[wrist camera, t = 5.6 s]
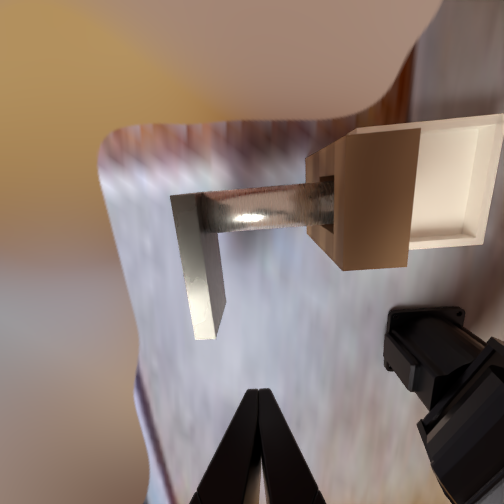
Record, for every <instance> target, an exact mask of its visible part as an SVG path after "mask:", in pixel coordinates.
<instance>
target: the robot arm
mask: <svg viewBox="0 0 504 504" xmlns="http://www.w3.org/2000/svg"><path fill="white" fill-rule="evenodd" d="M457 312H458V313H457ZM395 315H396V317H394V316H395ZM393 317H394V318H393ZM464 317H465V311H464V310H463V309H461V308H460V307H443V308H425V309H407V310H393V311H391V312H390V313H389V314H388V322H387V332H386V334H385V340H384V352H383V356H384V367H385V368H386V369H387V371H394V372H395V373H396V374H397V376H398V377H399V379H400V380H401V381H402V383H403V384H404V385H405V387H406V388H407V389H408V390H409V391H410V392H415V393H416V394H417V396H418V397H419V398H420V400H421V401H422V402H423V404H424V405H425V406H426V408H427V409H428V410H429V413H428V414H427V415H426V416H425V418H424V419H421V420H420V421H419V422H418V423H417V427H418V430H419V433H420V435H421V438H422V441H423V443H424V446H425V449H426V451H427V454H428V457H429V459H430V462H431V467H432V470H433V472H434V474H435V475H436V478H437V480H438V482H439V484H440V486H441V488H442V490H443V492H444V494H445V495H446V497H447V498H448V499H449V500H450V502H451V503H452V504H504V341H501V340H499V339H497V338H494V337H491V338H490V339H489V340H488V341H487V343H486V342H484V341H483V340H482V339H480V338H479V337H477V336H476V335H474V334H473V333H472V332H470V331H469V330H467V329H466V328H464V327H463V323H464ZM261 458H262V469H263V478H264V486H265V495H266V503H267V504H326V502H325V500H324V498H323V496H322V494H321V492H320V491H319V490H318V486H317V484H316V482H315V480H314V478H313V476H312V473H311V471H310V469H309V467H308V465H307V463H306V461H305V459H304V457H303V455H302V453H301V451H300V449H299V447H298V445H297V443H296V441H295V439H294V436H293V434H292V432H291V430H290V428H289V426H288V424H287V422H286V420H285V418H284V416H283V414H282V412H281V410H280V408H279V406H278V404H277V402H276V399H275V397H274V395H273V393H272V391H271V390H270V389H269V388H263V389H259V390H258V389H248V390H247V391H246V393H245V395H244V397H243V399H242V401H241V403H240V405H239V407H238V409H237V411H236V412H235V414H234V416H233V418H232V420H231V422H230V424H229V426H228V428H227V430H226V432H225V434H224V436H223V438H222V440H221V442H220V444H219V446H218V448H217V450H216V452H215V454H214V456H213V458H212V460H211V462H210V464H209V466H208V468H207V470H206V472H205V474H204V476H203V478H202V480H201V482H200V484H199V486H198V488H197V492H195V493H194V495H193V497H192V499H191V501H190V503H189V504H259V493H260V479H261Z"/></svg>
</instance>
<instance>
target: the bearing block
mask: <svg viewBox="0 0 504 504" xmlns="http://www.w3.org/2000/svg"><path fill="white" fill-rule="evenodd" d="M420 134H421V128H414V129H404V130H394V131H383V132H373V133H363V134H353V135H345V136H344V137H342V138H340V139H338V140H337V141H335V142H333V143H331V144H330V145H328V146H326V147H325V148H323V149H321V150H319V151H318V152H316V153H314V154H312V155H311V156H309V157H307V158H305V169H306V183H315V182H326V181H334V224H325V225H312V226H307V234H308V235H309V236H310V237H311V238H312V240H313V241H314V242H315V243H316V244H317V245H318V246H319V247H320V248H321V249H322V250H323V251H324V252H325V253H326V254H327V255H328V256H329V257H330V258H331V259H332V260H333V261H334V262H335V263H336V265H337V266H338V267H339V268H340V269H341V270H342V271H351V270H366V269H381V268H396V267H407V260H408V251H409V241H410V231H411V222H412V212H413V202H414V192H415V183H416V173H417V163H418V154H419V144H420Z"/></svg>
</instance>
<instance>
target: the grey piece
mask: <svg viewBox="0 0 504 504" xmlns="http://www.w3.org/2000/svg"><path fill="white" fill-rule="evenodd" d="M170 199H171V205H172V211H173V216H174V222H175V228H176V233H177V239H178V245H179V250H180V256H181V262H182V267H183V273H184V279H185V284H186V290H187V296H188V301H189V307H190V313H191V318H192V324H193V330H194V335H195V340H203V339H216V336H217V332H218V329H219V325H220V322H221V319H222V315H223V312H224V308H225V305H226V297H225V289H224V281H223V273H222V265H221V257H220V250H219V242H218V234H217V233H222V232H235V231H248V230H261V229H274V228H287V227H300V226H312V225H325V224H334V181H326V182H315V183H303V184H292V185H280V186H269V187H258V188H246V189H235V190H223V191H208V192H197V193H188V194H179V195H171V196H170Z"/></svg>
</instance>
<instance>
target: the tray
mask: <svg viewBox="0 0 504 504" xmlns="http://www.w3.org/2000/svg"><path fill="white" fill-rule="evenodd" d="M414 128H421V134H420V144H419V154H418V163H417V173H416V183H415V192H414V202H413V212H412V222H411V231H410V241H409V250H412V249H426V248H440V247H455V246H469V245H483V241H484V235H485V230H486V225H487V220H488V215H489V209H490V204H491V199H492V194H493V189H494V183H495V178H496V173H497V168H498V162H499V157H500V152H501V147H502V142H503V136H504V113H503V114H493V115H482V116H472V117H462V118H452V119H442V120H432V121H422V122H412V123H402V124H392V125H382V126H372V127H362V128H356V129H354V130H353V131H351V132H349V133H347V135H353V134H363V133H373V132H383V131H394V130H404V129H414Z"/></svg>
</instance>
